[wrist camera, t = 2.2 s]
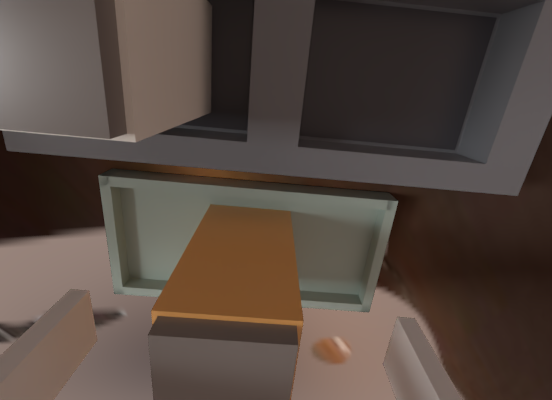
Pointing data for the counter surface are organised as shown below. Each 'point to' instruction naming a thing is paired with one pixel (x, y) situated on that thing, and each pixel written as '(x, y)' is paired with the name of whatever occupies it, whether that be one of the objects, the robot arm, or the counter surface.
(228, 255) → the orange plug
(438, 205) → the counter surface
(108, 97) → the cream plug
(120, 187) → the tray
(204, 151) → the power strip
